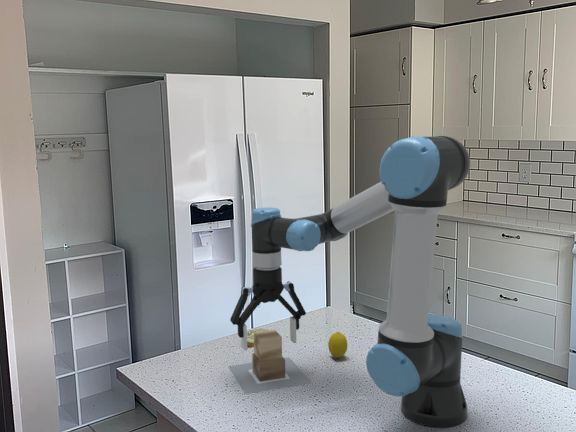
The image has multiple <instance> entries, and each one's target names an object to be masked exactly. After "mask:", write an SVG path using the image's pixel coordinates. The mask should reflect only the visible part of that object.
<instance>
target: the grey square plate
mask: <svg viewBox="0 0 576 432" xmlns="http://www.w3.org/2000/svg"><path fill="white" fill-rule="evenodd" d="M283 358H284V359H285V378H279V379H273V380H267V381H261V382H260V381H259V379H258V378H257V376H256V375H255V374H254V372H253V362H248V363H247V362H246V363H242V364H236V365H228V366H227V367H228V368H229V370H230V372H231V373H232V375H233V377H234V378H235V379H236V382H237V383H238V385H239V386H240V388H241V390H242V391H243V393H244V394H245V395H248V394H254V393H260V392H261V393H262V392H266V391H271V390H272V391H273V390H279V389H285V388H291V387H297V386H303V385H309V384H313V382H312V381H311V380H310V378H309V377H308V376H307V375H306V374H305V373H304V372H303V370H301V368H300V367H299V366H298V364H296V363H295V361H293V359H292V358H291V357H289V356H288V357H283Z"/></svg>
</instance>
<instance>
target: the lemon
mask: <svg viewBox="0 0 576 432" xmlns="http://www.w3.org/2000/svg"><path fill="white" fill-rule="evenodd" d="M347 340H348V339H347V338H346V335H344V333H341V332H339V331H336V332H334V333H332V335H330V337H329V340H328V350H329V353H330V354H331V355H332V356H333V357H335V358H336V359H340V358H341V357H343V356H344V355H345V354H346V353H347V350H348V341H347Z"/></svg>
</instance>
